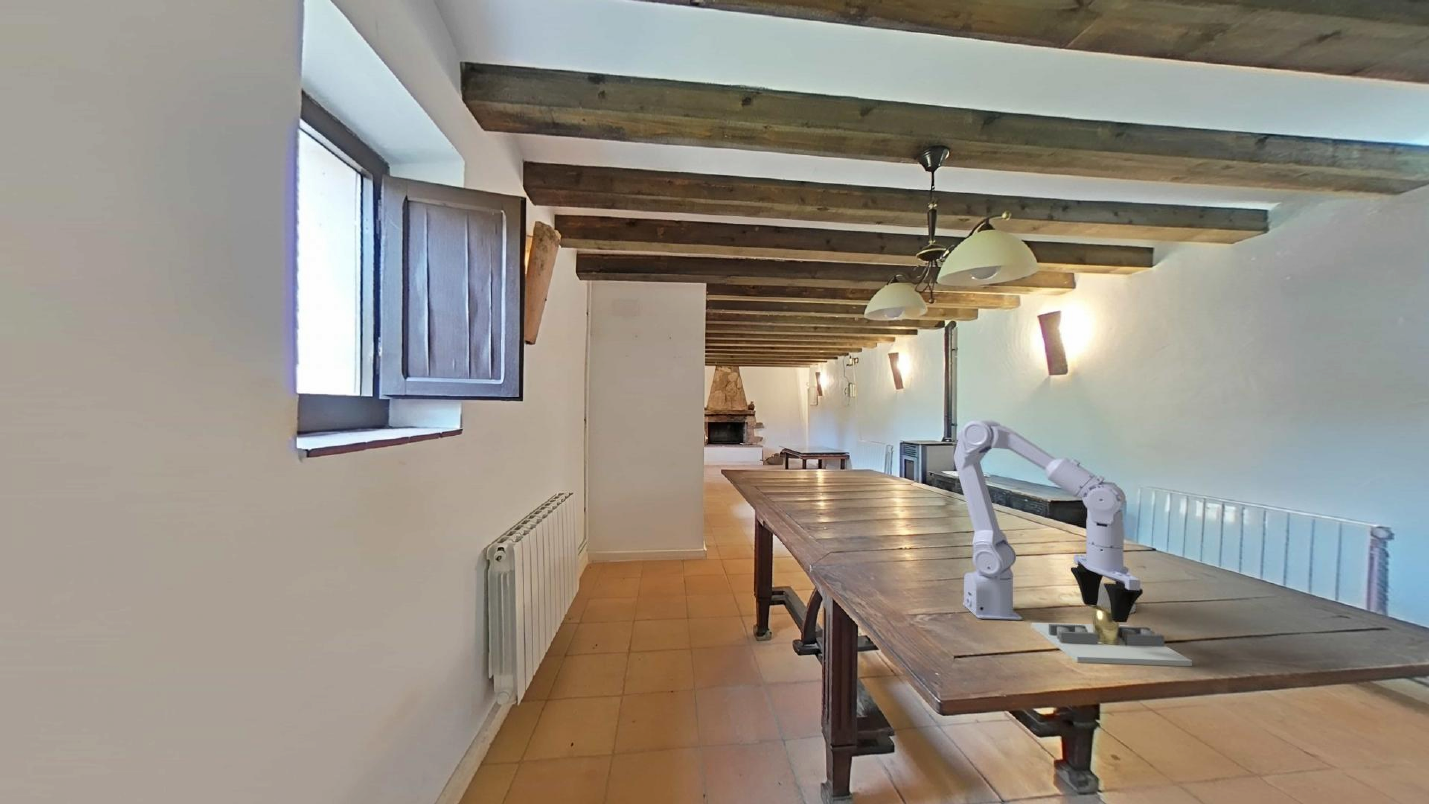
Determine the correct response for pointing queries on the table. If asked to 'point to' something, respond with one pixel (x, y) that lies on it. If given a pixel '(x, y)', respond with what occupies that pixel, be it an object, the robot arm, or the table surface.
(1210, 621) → the table surface
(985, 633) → the table surface
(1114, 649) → the chain base
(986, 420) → the robot arm
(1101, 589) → the mechanical component
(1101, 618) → the pin
